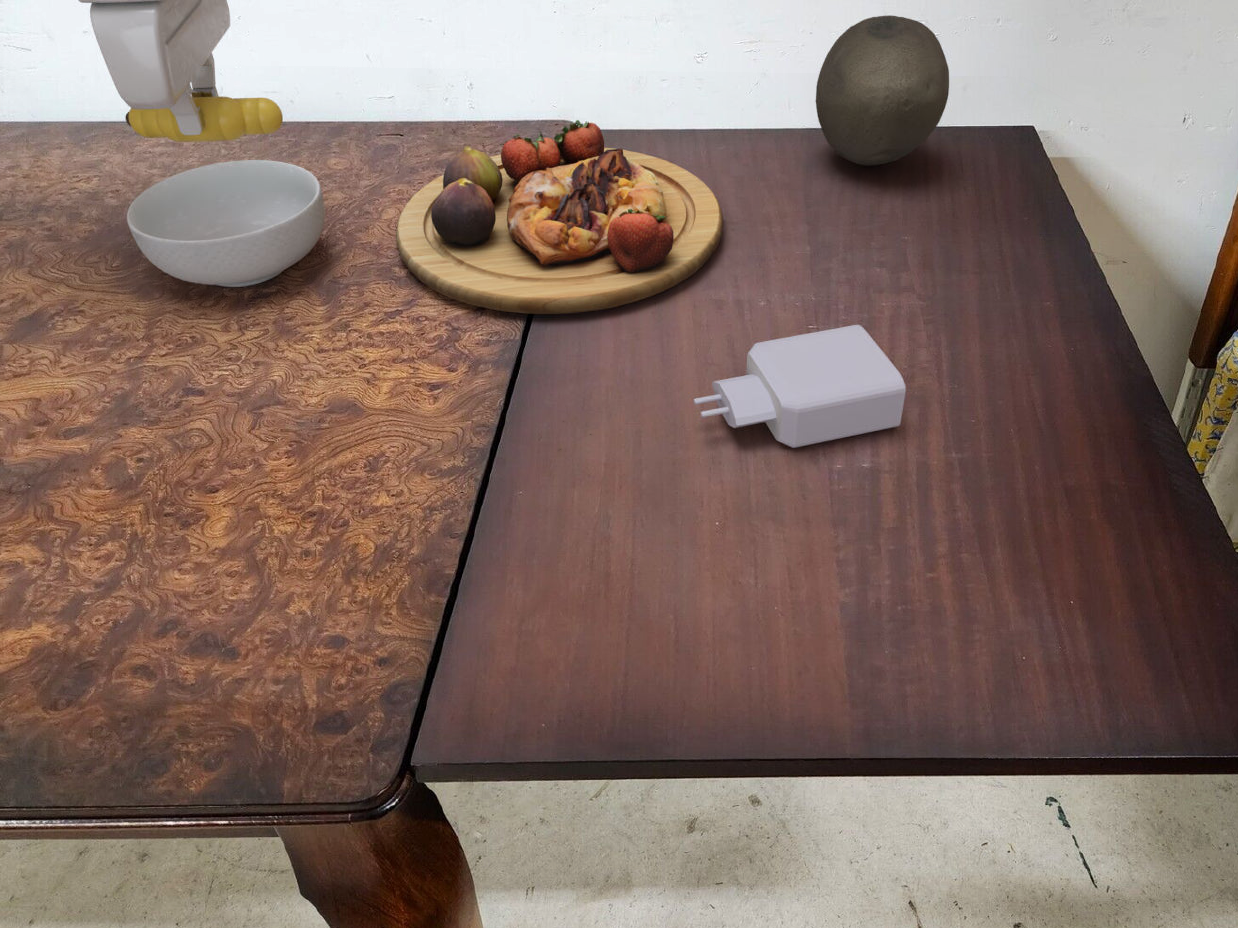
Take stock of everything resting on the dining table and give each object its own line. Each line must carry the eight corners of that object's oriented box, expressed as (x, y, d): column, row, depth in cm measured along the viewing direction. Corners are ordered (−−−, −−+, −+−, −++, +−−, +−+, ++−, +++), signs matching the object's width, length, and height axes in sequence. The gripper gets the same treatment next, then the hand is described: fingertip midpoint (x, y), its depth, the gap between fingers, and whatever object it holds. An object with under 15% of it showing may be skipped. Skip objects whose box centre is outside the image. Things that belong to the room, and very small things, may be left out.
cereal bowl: (317, 211, 111) (301, 144, 107) (354, 287, 100) (337, 216, 96) (142, 246, 106) (117, 177, 101) (161, 330, 95) (133, 257, 90)
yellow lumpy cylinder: (121, 150, 93) (106, 108, 91) (137, 132, 96) (123, 90, 94) (279, 145, 94) (268, 103, 91) (289, 127, 97) (280, 86, 95)
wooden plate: (781, 273, 102) (787, 190, 96) (453, 356, 92) (438, 268, 86) (643, 144, 123) (641, 70, 118) (364, 200, 113) (347, 122, 108)
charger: (679, 400, 87) (850, 367, 91) (716, 470, 81) (899, 432, 84) (679, 350, 84) (856, 318, 87) (718, 419, 78) (908, 382, 81)
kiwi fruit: (785, 171, 118) (795, 27, 108) (845, 127, 127) (859, -11, 116) (905, 204, 112) (927, 55, 102) (958, 155, 121) (983, 13, 111)
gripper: (145, -89, 92) (196, 76, 101) (60, -14, 77) (128, 172, 86) (221, -91, 92) (264, 74, 101) (150, -17, 77) (209, 169, 86)
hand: (201, 120), depth 94 cm, fingers closed on yellow lumpy cylinder, 3 cm apart
